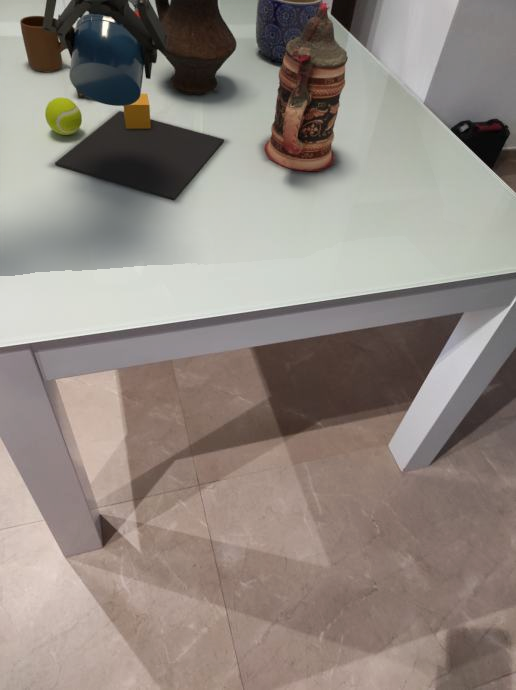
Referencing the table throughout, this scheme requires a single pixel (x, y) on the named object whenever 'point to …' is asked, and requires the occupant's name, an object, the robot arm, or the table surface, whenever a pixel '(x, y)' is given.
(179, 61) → the jug
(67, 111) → the tennis ball
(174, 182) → the mat
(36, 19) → the mug
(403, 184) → the table surface
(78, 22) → the blue paint bucket
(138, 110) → the block
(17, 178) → the table surface
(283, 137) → the beer stein
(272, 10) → the planter
